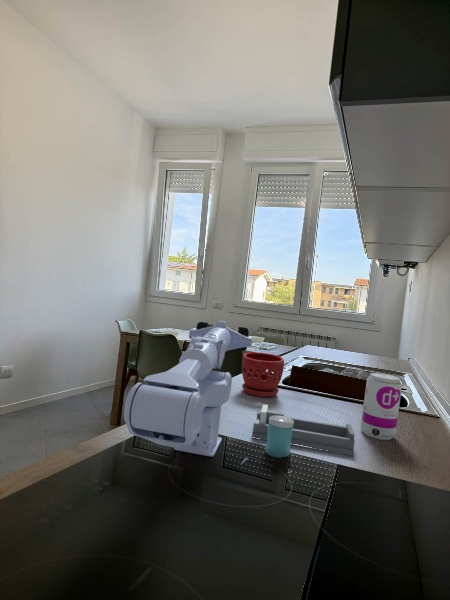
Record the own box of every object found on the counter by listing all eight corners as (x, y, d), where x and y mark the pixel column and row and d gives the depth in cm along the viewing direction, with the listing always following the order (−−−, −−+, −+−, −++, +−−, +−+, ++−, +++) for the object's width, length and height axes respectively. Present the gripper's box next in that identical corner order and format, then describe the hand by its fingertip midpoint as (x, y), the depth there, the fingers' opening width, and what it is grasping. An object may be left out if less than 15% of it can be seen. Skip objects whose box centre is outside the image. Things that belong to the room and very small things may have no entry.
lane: (353, 456, 90) (355, 437, 90) (251, 438, 94) (253, 420, 94) (347, 438, 101) (349, 421, 101) (256, 422, 105) (258, 406, 104)
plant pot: (236, 386, 139) (241, 350, 139) (276, 389, 140) (280, 354, 139) (240, 397, 126) (245, 357, 126) (283, 401, 127) (288, 362, 126)
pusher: (281, 433, 95) (283, 415, 95) (258, 429, 96) (261, 411, 96) (282, 424, 101) (284, 407, 101) (261, 421, 102) (263, 404, 102)
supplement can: (399, 442, 102) (408, 381, 101) (365, 438, 102) (373, 377, 101) (387, 430, 110) (395, 374, 109) (356, 427, 110) (363, 370, 109)
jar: (289, 459, 84) (293, 425, 84) (264, 455, 85) (268, 421, 85) (290, 450, 90) (294, 417, 89) (266, 445, 90) (270, 413, 90)
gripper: (250, 329, 90) (257, 319, 103) (185, 320, 92) (200, 311, 106) (247, 361, 91) (254, 347, 104) (182, 351, 93) (197, 339, 106)
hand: (226, 331), depth 105 cm, fingers open, 7 cm apart
